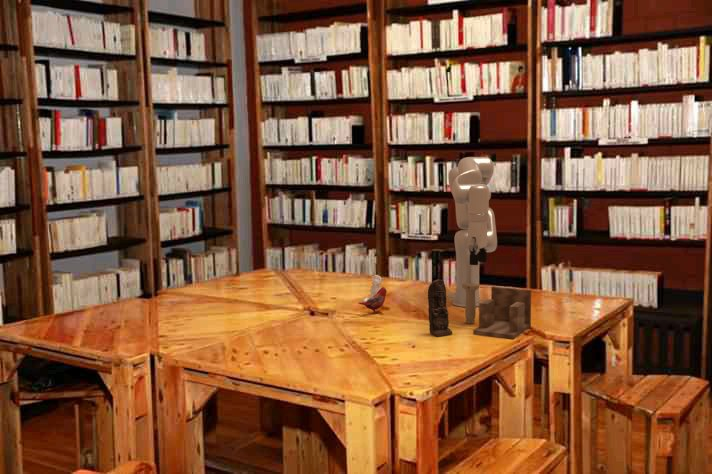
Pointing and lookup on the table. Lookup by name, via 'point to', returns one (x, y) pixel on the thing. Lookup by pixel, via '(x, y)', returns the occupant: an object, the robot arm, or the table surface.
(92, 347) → the table surface
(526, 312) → the wooden stand
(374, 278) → the white creature statuette
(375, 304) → the decorative bird figurine
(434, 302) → the statue
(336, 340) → the table surface
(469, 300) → the handle
